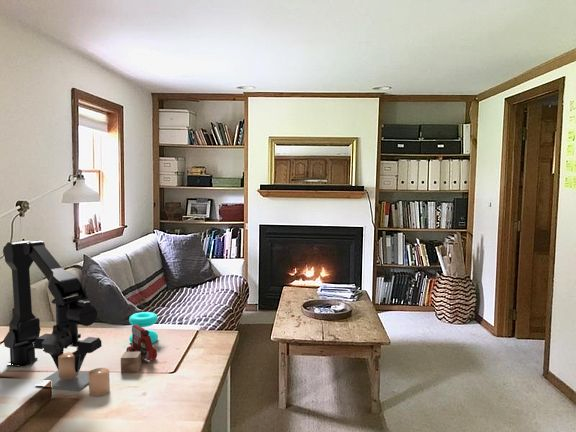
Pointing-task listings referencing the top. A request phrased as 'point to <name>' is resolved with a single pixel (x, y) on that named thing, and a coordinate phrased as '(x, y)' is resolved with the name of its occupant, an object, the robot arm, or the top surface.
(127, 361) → the walnut block
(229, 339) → the top surface
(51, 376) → the slate board
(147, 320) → the donuts
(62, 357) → the peach domed cylinder
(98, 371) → the peach domed cap
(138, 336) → the toy fire truck
